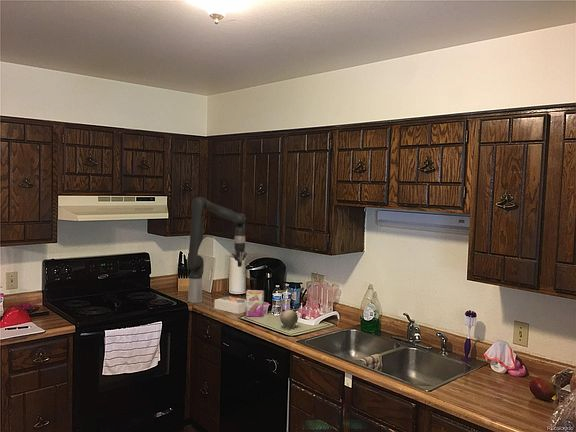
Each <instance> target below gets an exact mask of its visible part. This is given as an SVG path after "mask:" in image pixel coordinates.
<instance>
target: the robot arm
mask: <svg viewBox="0 0 576 432" xmlns="http://www.w3.org/2000/svg"><path fill="white" fill-rule="evenodd" d="M203 211H208V212H211V213H213V214H215V215H216V216H219V217H220V218H223V219H226V220H228V221H231V222H232V223H235V224H236V226H235V229H234V244H233V245H234V253H232V255H231V256H232V257H233V258H234V260H235V261H236V262H237V267H238V268H241V267H242V266H243V261H244V260H245V259H246V256H247V255H248V253H247V252H246V250H245V249H246V226H245V220H246V221H247V216H246V215H245V214H244V213H238V212H235V211H233V209H229V208H227V207H224V206H221V205H218V204H216V203H215V202H214V203H213V202H212V201H210V200H208V199H207V198H205V197H203V196H196V197H194V198H193V200H192V201H191V223H190V224H191V225H190V235H189V246H188V253H187V259H186V265H187V267H188V268H189V270H191V271H190V273H189V274H188V288H187V299H188V300H187V302H189V303H192V304H198V303H202V302H203V275H204V267H205V265H204V264H205V262H204V261H205V260H204V258H203V257H202V255H199V249H200V246H201V244H202V242H203V239H204V231H205V230H204V229H205V227H204V224H203ZM245 216H246V217H245Z"/></svg>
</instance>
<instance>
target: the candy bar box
mask: <svg viewBox="0 0 576 432" xmlns="http://www.w3.org/2000/svg"><path fill="white" fill-rule="evenodd" d="M245 300H246V312H245V317H251V318H253V317H254V318H264V315H265V313H264V311H265V310H264V309H265V290H255V289H247V290H246V291H245Z"/></svg>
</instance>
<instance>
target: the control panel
mask: <svg viewBox="0 0 576 432" xmlns="http://www.w3.org/2000/svg"><path fill="white" fill-rule="evenodd" d="M228 297H230V298H231V297H232V296H231V295H230V296H228ZM236 298H237V300H245V303H237V301H235V302H232V301H230V299H229V300H223V299H222V297H221V298H216V299H214V309H215V310H220V311H225V312H229V313H233V314H241V313H246V298H245V299H244V298H239V297H236Z"/></svg>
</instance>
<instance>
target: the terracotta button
mask: <svg viewBox="0 0 576 432" xmlns="http://www.w3.org/2000/svg"><path fill="white" fill-rule="evenodd" d="M230 297H231V298H230V301H232V302H235V301H237V298H238V297H235V296H230Z"/></svg>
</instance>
